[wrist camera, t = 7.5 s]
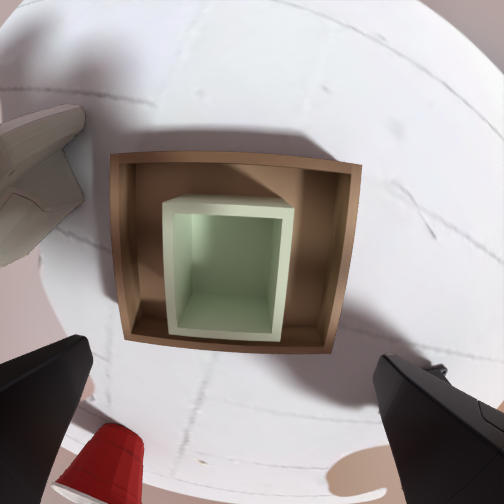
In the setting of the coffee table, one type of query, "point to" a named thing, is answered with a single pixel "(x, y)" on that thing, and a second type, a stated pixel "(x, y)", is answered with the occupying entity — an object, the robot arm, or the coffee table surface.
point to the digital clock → (36, 177)
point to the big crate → (245, 184)
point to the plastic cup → (105, 469)
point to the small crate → (226, 265)
